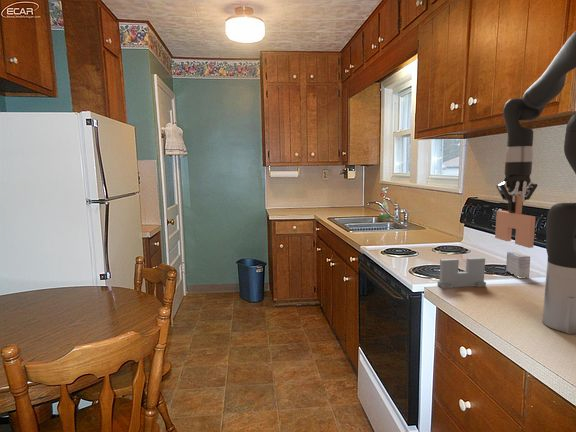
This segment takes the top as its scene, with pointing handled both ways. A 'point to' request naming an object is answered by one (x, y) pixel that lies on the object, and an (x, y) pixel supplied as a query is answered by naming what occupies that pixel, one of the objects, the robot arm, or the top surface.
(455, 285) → the grey notched panel
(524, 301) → the top surface
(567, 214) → the robot arm
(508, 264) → the medicine box
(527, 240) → the terracotta plate
